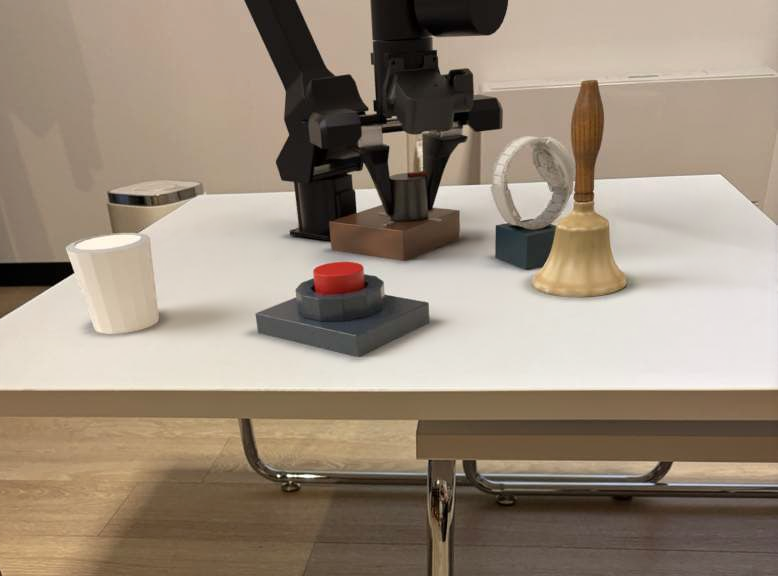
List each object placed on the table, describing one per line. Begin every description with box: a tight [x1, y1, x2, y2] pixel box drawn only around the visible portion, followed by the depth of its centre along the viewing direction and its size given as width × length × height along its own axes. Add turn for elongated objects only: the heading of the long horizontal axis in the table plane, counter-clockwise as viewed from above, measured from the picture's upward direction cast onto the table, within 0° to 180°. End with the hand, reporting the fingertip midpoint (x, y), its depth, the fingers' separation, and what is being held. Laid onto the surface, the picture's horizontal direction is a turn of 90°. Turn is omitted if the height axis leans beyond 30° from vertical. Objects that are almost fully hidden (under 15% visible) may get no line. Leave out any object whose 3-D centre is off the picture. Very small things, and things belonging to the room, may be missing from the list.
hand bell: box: [531, 79, 628, 298], centre depth 69 cm, size 8×8×16 cm
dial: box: [390, 170, 428, 221], centre depth 86 cm, size 4×4×4 cm
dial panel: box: [329, 204, 461, 262], centre depth 88 cm, size 11×10×3 cm
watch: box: [490, 135, 576, 271], centre depth 78 cm, size 6×8×11 cm
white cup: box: [65, 232, 160, 335], centre depth 71 cm, size 7×7×7 cm
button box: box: [254, 273, 430, 358], centre depth 67 cm, size 11×9×4 cm
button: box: [312, 261, 365, 294], centre depth 66 cm, size 4×4×2 cm
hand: (408, 212), depth 87 cm, fingers closed on dial, 4 cm apart
